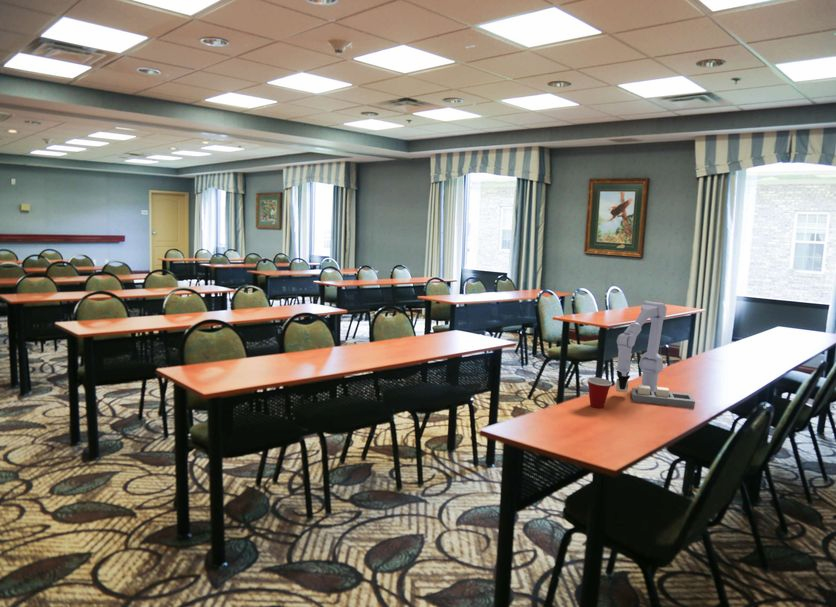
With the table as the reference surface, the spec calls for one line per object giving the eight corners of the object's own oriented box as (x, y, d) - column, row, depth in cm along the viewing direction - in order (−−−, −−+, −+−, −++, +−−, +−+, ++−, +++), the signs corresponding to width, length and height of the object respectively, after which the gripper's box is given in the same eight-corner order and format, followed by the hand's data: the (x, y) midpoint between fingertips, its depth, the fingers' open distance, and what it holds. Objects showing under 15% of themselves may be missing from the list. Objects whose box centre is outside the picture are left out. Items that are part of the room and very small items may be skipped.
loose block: (615, 388, 288) (616, 378, 287) (626, 389, 287) (627, 379, 286) (616, 391, 283) (617, 381, 282) (627, 392, 282) (628, 382, 281)
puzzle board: (631, 393, 290) (632, 382, 289) (689, 400, 283) (690, 388, 282) (633, 401, 278) (634, 389, 277) (694, 408, 271) (695, 395, 270)
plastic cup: (605, 411, 260) (607, 384, 258) (581, 406, 266) (583, 380, 265) (613, 406, 269) (616, 380, 267) (590, 401, 275) (592, 375, 273)
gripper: (614, 355, 291) (612, 382, 293) (616, 361, 277) (613, 390, 279) (630, 356, 289) (627, 384, 291) (632, 363, 275) (629, 392, 277)
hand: (621, 387), depth 285 cm, fingers closed on loose block, 5 cm apart
